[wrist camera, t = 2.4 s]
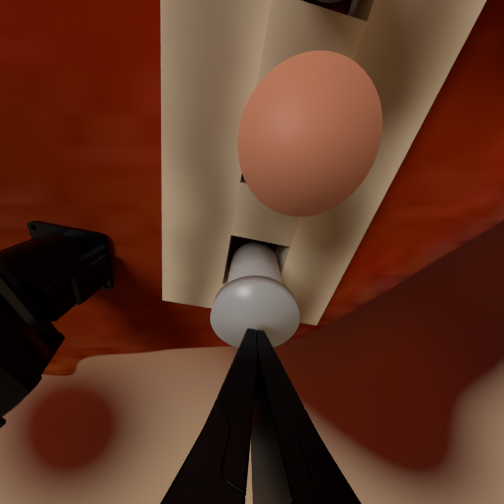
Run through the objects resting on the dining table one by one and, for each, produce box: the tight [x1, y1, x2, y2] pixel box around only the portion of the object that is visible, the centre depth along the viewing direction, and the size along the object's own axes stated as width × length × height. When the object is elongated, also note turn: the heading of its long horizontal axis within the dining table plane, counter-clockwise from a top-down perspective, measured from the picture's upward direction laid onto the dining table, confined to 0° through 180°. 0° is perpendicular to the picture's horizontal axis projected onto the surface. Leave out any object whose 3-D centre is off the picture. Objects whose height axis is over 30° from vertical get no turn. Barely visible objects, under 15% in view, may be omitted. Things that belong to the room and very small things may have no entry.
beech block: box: [161, 0, 487, 325], centre depth 13 cm, size 14×26×4 cm, turn 168°
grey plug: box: [210, 243, 300, 348], centre depth 12 cm, size 5×5×6 cm
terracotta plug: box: [238, 50, 383, 217], centre depth 9 cm, size 5×5×6 cm
